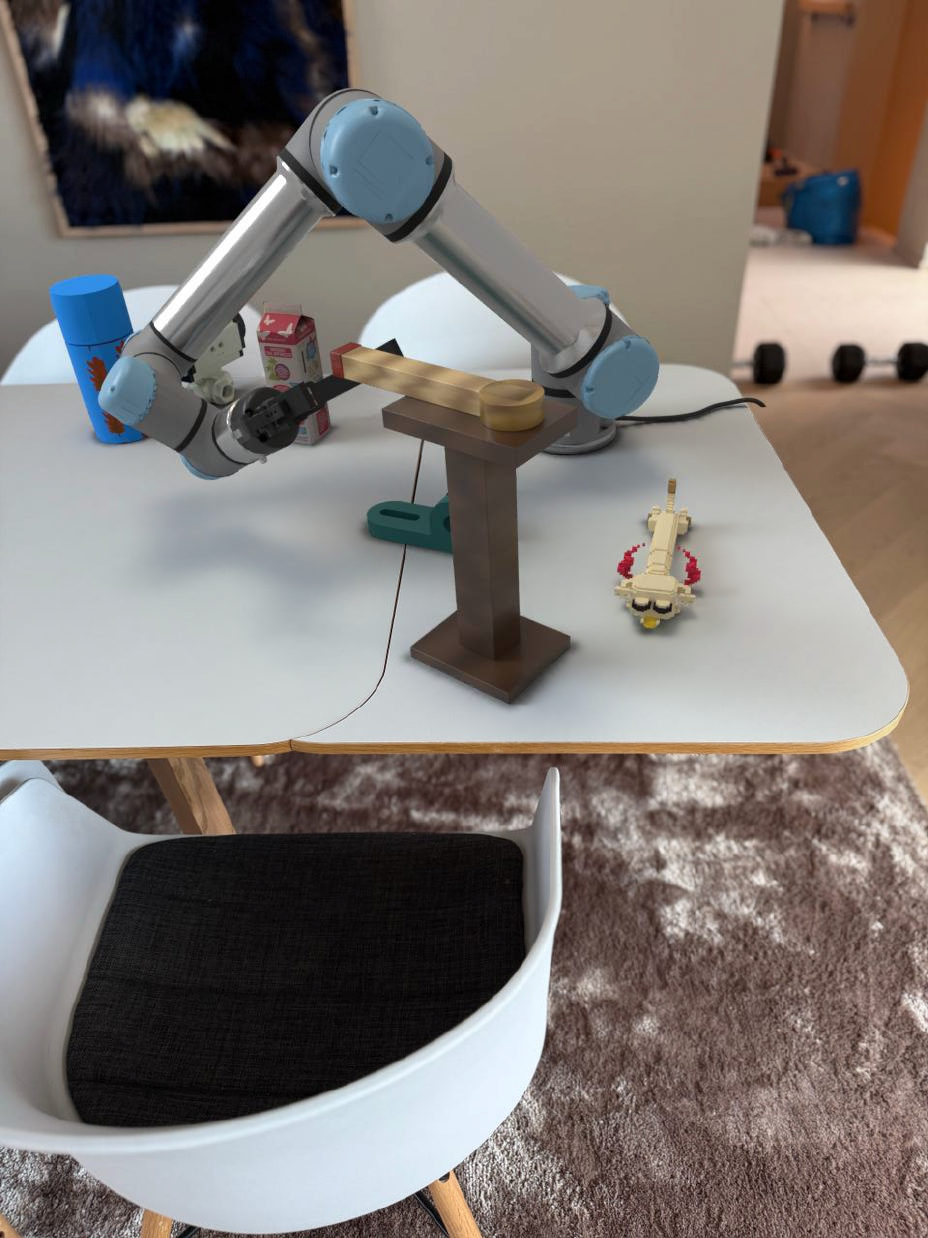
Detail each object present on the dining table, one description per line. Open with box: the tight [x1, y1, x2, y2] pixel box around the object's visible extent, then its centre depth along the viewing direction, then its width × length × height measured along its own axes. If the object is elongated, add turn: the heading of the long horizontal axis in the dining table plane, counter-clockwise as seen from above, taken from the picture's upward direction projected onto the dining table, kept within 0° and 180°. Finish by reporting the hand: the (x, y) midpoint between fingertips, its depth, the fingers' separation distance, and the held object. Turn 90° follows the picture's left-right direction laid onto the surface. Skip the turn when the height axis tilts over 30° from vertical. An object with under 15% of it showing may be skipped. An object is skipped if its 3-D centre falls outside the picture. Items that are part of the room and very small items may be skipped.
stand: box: [380, 395, 578, 705], centre depth 96 cm, size 16×12×30 cm
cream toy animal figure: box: [613, 477, 702, 629], centre depth 112 cm, size 10×9×25 cm
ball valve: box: [181, 312, 247, 405], centre depth 162 cm, size 18×8×18 cm, turn 149°
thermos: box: [48, 274, 149, 445], centre depth 152 cm, size 11×11×25 cm
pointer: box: [329, 341, 545, 432], centre depth 89 cm, size 25×6×3 cm, turn 51°
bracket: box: [366, 491, 453, 555], centre depth 124 cm, size 18×7×8 cm, turn 65°
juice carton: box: [255, 301, 332, 446], centre depth 147 cm, size 7×7×22 cm
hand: (355, 371), depth 95 cm, fingers open, 13 cm apart
